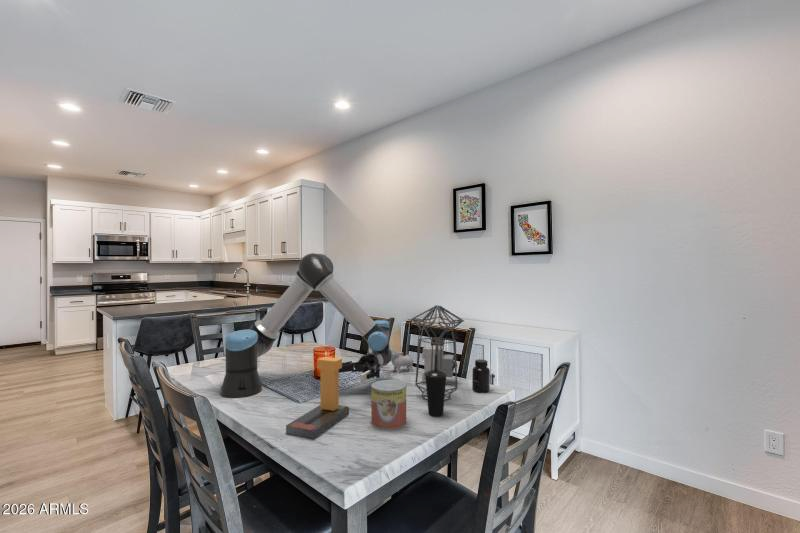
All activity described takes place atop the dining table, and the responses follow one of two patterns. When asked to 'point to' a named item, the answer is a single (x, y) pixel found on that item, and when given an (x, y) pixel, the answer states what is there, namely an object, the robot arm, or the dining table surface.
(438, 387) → the drinking cup
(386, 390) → the canned food
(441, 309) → the geometric lantern
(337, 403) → the handle
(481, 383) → the supplement bottle
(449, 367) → the circuit breaker
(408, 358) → the dog figurine
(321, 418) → the switch plate
